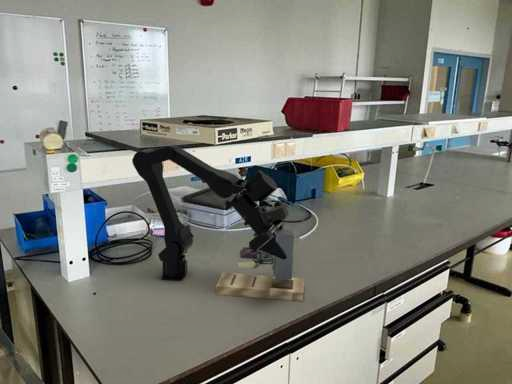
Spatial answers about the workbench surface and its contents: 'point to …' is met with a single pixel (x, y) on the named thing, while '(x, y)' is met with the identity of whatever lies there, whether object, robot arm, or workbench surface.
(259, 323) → the workbench surface
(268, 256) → the toy gun
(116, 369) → the workbench surface
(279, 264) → the tall gray pillar
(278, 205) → the robot arm
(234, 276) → the slotted wooden board
